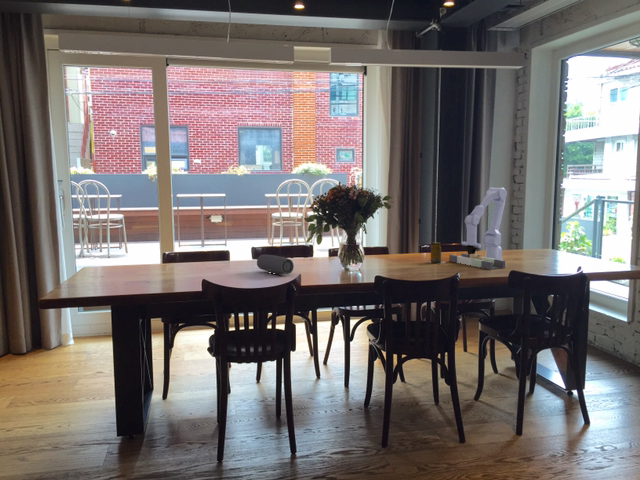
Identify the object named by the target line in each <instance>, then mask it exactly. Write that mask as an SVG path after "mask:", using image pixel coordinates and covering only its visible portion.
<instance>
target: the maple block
mask: <svg viewBox="0 0 640 480" xmlns="http://www.w3.org/2000/svg"><path fill="white" fill-rule="evenodd" d="M482 257H483V254H481V253H476V252H475V254H470V258H473V259H478V260H482Z"/></svg>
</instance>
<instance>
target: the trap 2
mask: <svg viewBox="0 0 640 480" xmlns="http://www.w3.org/2000/svg"><path fill="white" fill-rule="evenodd" d="M498 269H504V268H503V267H498V266H493V269H492V270H498Z"/></svg>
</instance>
